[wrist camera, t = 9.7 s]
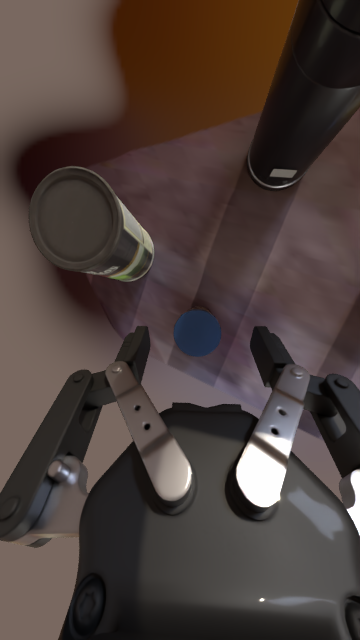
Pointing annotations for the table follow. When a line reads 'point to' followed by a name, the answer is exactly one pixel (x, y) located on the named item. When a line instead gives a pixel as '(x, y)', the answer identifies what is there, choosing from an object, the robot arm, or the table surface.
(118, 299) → the table surface
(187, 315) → the lid
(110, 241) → the coffee can
